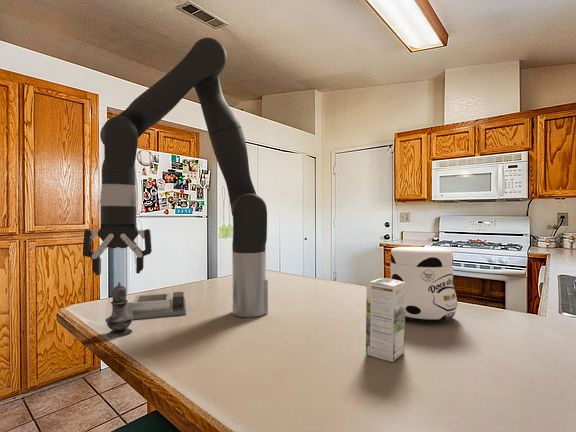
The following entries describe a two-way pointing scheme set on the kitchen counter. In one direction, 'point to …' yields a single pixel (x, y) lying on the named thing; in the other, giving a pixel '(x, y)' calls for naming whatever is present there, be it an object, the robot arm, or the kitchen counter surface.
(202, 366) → the kitchen counter surface
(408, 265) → the milk container
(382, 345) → the syrup box
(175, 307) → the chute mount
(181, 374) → the kitchen counter surface
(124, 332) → the grey chess piece
